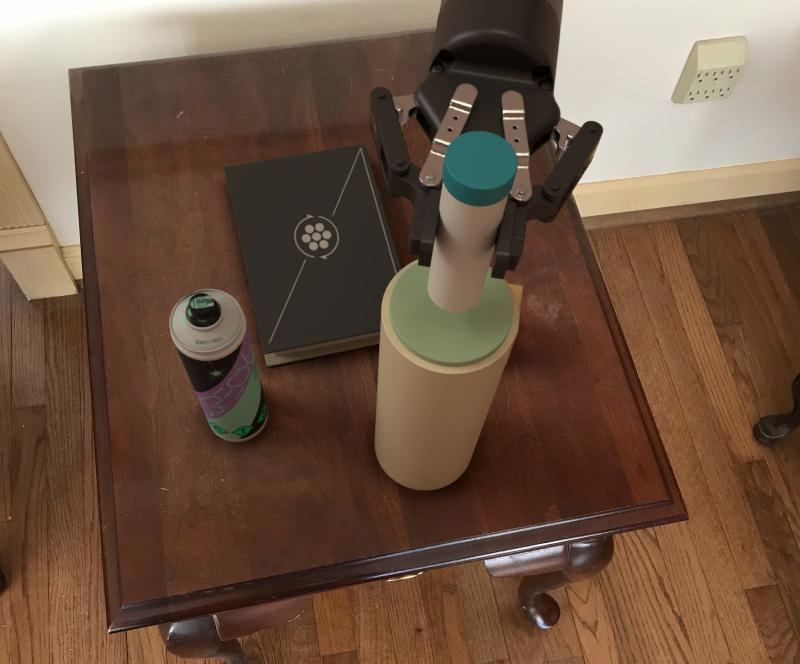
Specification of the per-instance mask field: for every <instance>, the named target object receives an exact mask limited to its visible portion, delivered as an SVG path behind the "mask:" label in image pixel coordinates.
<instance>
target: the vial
mask: <svg viewBox="0 0 800 664" xmlns="http://www.w3.org/2000/svg"><path fill="white" fill-rule="evenodd" d="M517 168H518V158H517V155H516V152H515V150H514V149H513V147H512V146H511V145H510V144H509V143H508V142H507V141H506V140H505V139H503V138H502V137H500V136H498V135H496V134H493V133H490V132H485V131H472V132H467V133H464V134H462V135H460V136H458V137H457V138H455V139H454V140H453V141H452V142H451V143H450V144H449V146H448V147H447V150H446V152H445V157H444V164H443V171H442V179H443V185H442V191H441V198H440V206H439V209H440V211H439V217H438V224H437V231H436V237H435V243H434V249H433V255H432V260H431V266H430V272H429V279H428V293H429V296H430V298H431V299H432V301H433V302H434V303H435V304H436V305H437V306H439V307H440V308H442V309H444V310H447V311H450V312H462V311H466V310H469V309H470V308H472V307H474V306H475V305H476V304H477V303H478V301H479V300H480V298H481V296H482V292H483V288H484V284H485V281H486V277H487V273H488V269H489V266H490V265H491V263H492V259H493V255H494V248H495V242H496V238H497V234H498V231H499V227H500V223H501V220H502V217H503V213H504V209H505V206H506V202H507V198H508V194H509V193H510V191H511V189H512V187H513V183H514V180H515V176H516V172H517ZM490 267H491V266H490Z"/></svg>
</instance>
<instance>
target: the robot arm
mask: <svg viewBox="0 0 800 664" xmlns="http://www.w3.org/2000/svg"><path fill="white" fill-rule="evenodd" d="M563 10H564V0H440V5H439V12H438V15H437V18H436V19H437V20H436V26H435V32H434V37H433V42H432V48H431V52H430V57H429V63H428V67H427V73H426V76H425V78H423V80H422V81H421V82H420V83H419V84H418V85H417V86H416V88H415V89H414V93H411V94H404V95H398V96H393V95H392V92H391V90H390V89H388V88H386V87H383V86H377V87H375V88H373V89H371V91H370V94H369V97H370V98H369V130H370V133H371V137H372V140H373V143H374V147H375V151H376V155H377V159H378V162H379V166H380V170H381V174H382V177H383V181H384V185H385V189H386V192H387V195H388V196H389V197H391V198H392V199H396V200H399V199H406V200H408V201H410V203H412V205H413V211H412V214H411V222H410V226H409V230H408V231H409V233H408V242H407V248H408V252H409V255H411V256H412V255H413V256H418V259H417V260H418V266H424V267H430V266H431V260H432V255H433V249H434V243H435V237H436V231H437V224H438V217H439V211H440V209H439V206H440V198H441V191H442V185H443V179H442V171H443V164H444V157H445V152H446V150H447V147H448V146H449V144H450V143H451V142H452V141H453V140H454V139H455V138H457V137H458V136H460V135H462V134H464V133H467V132H472V131H485V132H490V133H493V134H496V135H498V136H500V137H502V138H503V139H505V140H506V141H507V142H508V143H509V144H510V145H511V146H512V147H513V149H514V150H515V152H516V155H517V158H518V168H517V172H516V176H515V180H514V183H513V187H512V189H511V191H510V193H509V194H508V198H507V202H506V206H505V209H504V213H503V217H502V220H501V223H500V227H499V231H498V234H497V238H496V242H495V247H494V251H493V254H492V262H491V268H492V270H491V278H497V279H505V277H506V274H507V273H506V272H507V271H510V272H515V271H516V269H517V268H518V266H519V264H520V261H521V258H522V255H523V252H524V247H525V239H526V233H527V232H526V230H527V223H528V222H529V221H532V220H538V221H539V222H541V223H543V224H550V223H553V222H554V221H555V220H556V219H557V217H558V216H559V214H560V212H561V210H563V208H564V206H565V204H566V203H567V201H568V199H569V198H570V197H571V195H572V193H573V191H574V190H575V188H576V187H577V185H578V184H579V182H580V181H581V179H582V178H583V176H584V174H585V172H586V171H587V170H588V168H589V166H590V165H591V163H592V162H593V159H594V156H595V154H596V153H597V152H596V151H597V149H598V146H599V144H600V141H601V138H602V136H603V133H604V127H603V125H602V124H601V123H600V122H598V121H595V120H587V121H584V122H583V124H582V125H581V126H580V125H578V124H576V123H573V122H571V121H570V120H567V119H565V118H563V117H561V115H562V114H561V107H560V105H559V104H558V102H557V101H556V97H555V86H556V77H557V68H558V67H557V66H558V58H559V51H560V50H559V49H560V42H561V41H560V40H561V39H560V38H561V30H562V22H563V13H564V12H563ZM414 118H415V120H416V122H417V123H418V125H419V126H420V128H421V129H422V131H423V132H424V134H425V135H426V137H427V139H428V141H430V143H431V147H430V151H429V153H428V156H427V158H426V160H425V161H424V164H423V166H422V168H421V167H419V166H417V165H416V164H413V163H412V162H411V158H410V155H409V151H408V147H407V143H406V141H405V137H404V135H405V134H406V133H407V132H408V130H409V122H410V121H411V120H412V119H414ZM551 140H552V141H553V142H554V143H555V145H556V148H555V152H554V155H555V157H556V159H557V160H558V162H557V163H556V165H555V166H554V168H553V169H552V171H551V172H550V174H549V175H548V177H547V179H546V180H545V182H544V183H543V184H537V185H532V181H531V180H532V179H531V174H530V173H531V172H530V157H531V156H533V155H534V154H535V153H537V151H539V150H540V149H541V148H543V146H545V145H546V144H548V142H550V141H551Z"/></svg>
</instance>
